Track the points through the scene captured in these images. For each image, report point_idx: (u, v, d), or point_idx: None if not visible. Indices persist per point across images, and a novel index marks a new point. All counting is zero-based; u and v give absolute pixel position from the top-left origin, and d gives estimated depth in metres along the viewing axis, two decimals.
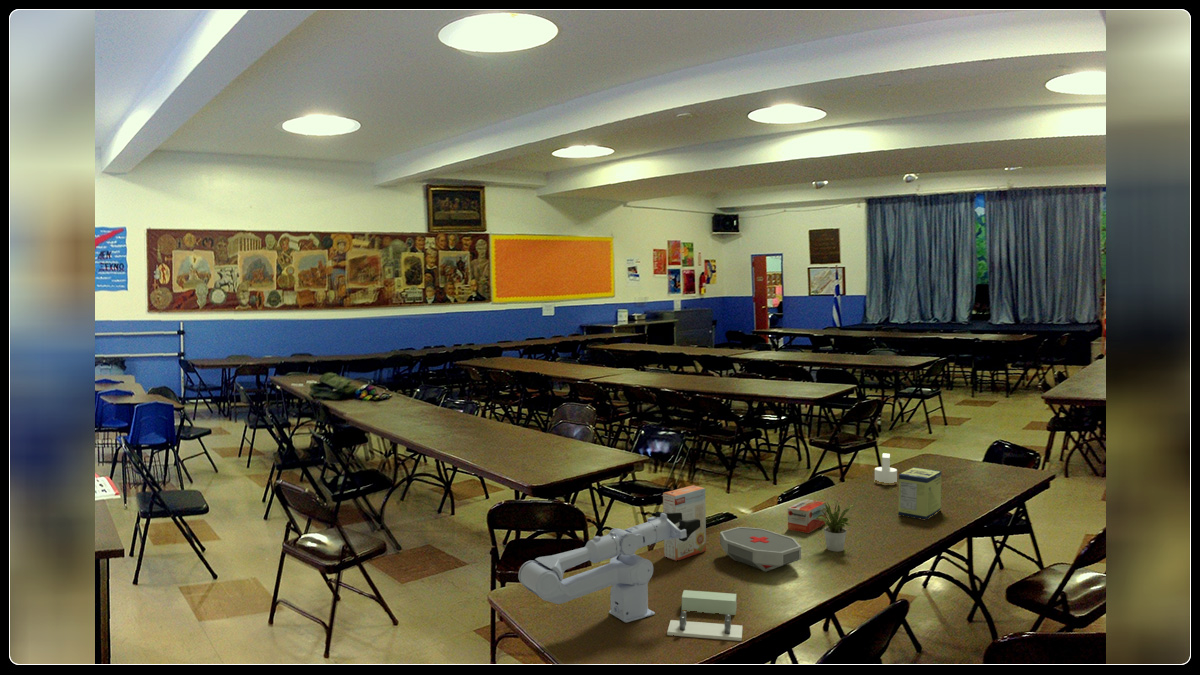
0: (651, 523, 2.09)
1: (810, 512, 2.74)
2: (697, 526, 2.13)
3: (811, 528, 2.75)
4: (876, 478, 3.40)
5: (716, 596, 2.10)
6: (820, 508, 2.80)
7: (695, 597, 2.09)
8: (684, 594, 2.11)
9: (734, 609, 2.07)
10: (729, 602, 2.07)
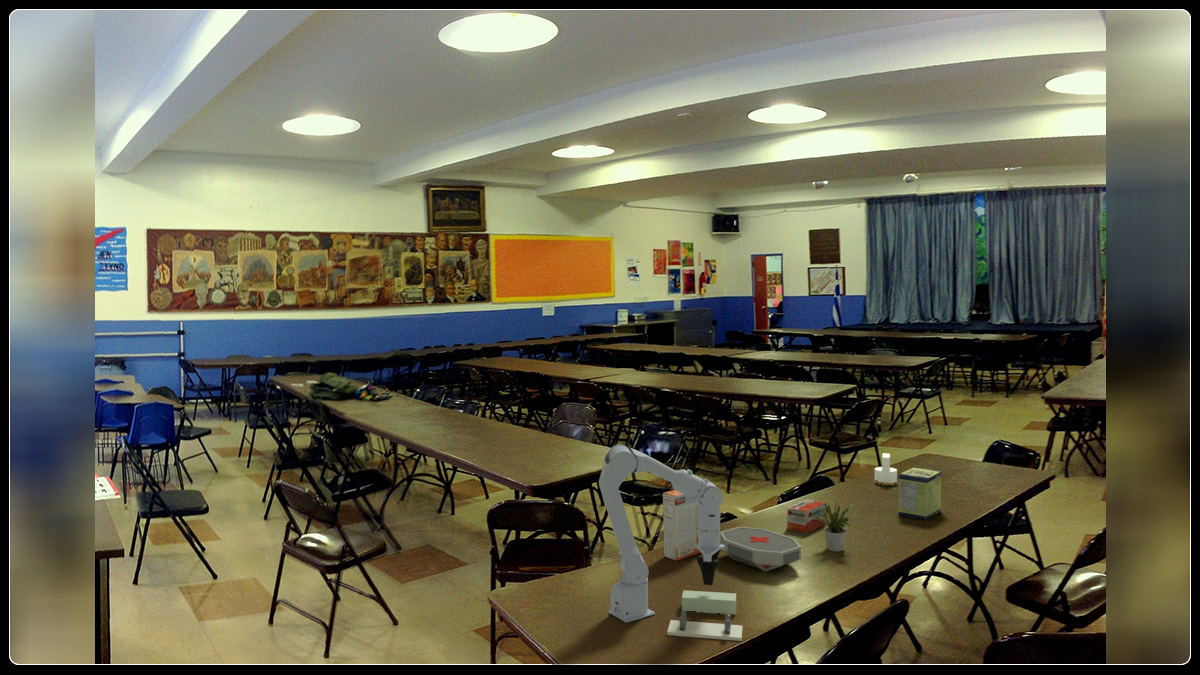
0: (719, 530, 2.08)
1: (809, 512, 2.74)
2: (706, 580, 2.06)
3: (810, 528, 2.75)
4: (876, 478, 3.40)
5: (716, 596, 2.10)
6: (820, 508, 2.80)
7: (695, 597, 2.09)
8: (684, 594, 2.11)
9: (734, 609, 2.07)
10: (729, 602, 2.07)
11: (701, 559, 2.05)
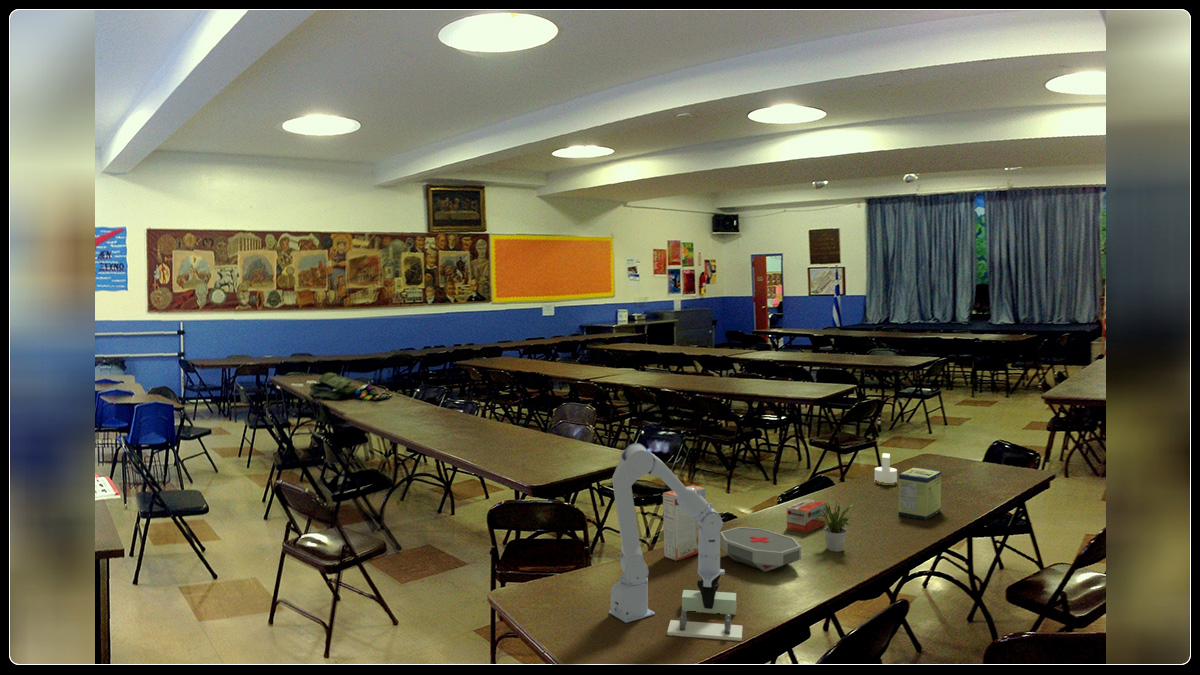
0: (719, 555, 2.08)
1: (808, 512, 2.74)
2: (706, 604, 2.07)
3: (810, 528, 2.75)
4: (876, 478, 3.40)
5: (716, 596, 2.10)
6: (820, 508, 2.80)
7: (695, 597, 2.09)
8: (684, 594, 2.11)
9: (734, 608, 2.07)
10: (729, 602, 2.07)
11: (701, 583, 2.06)
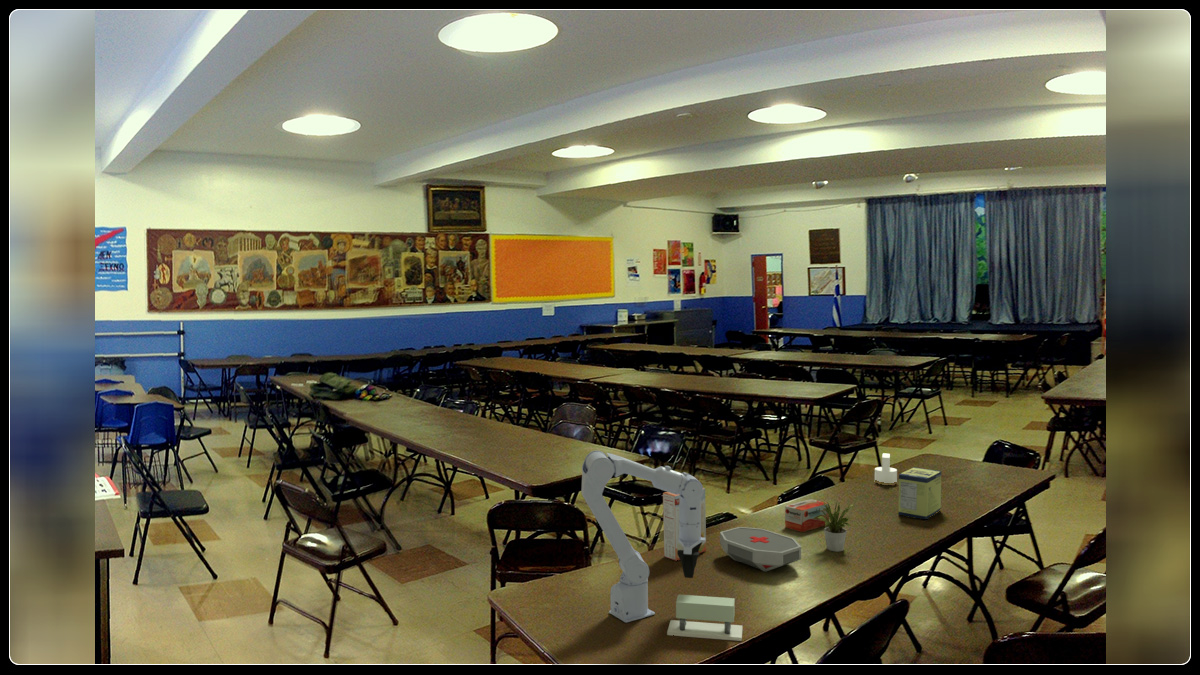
0: (700, 523, 2.08)
1: (805, 511, 2.75)
2: (686, 573, 2.06)
3: (807, 528, 2.76)
4: (876, 478, 3.40)
5: (713, 601, 1.96)
6: (820, 508, 2.80)
7: (691, 602, 1.95)
8: (679, 599, 1.97)
9: (732, 615, 1.93)
10: (727, 608, 1.93)
11: (681, 552, 2.05)
